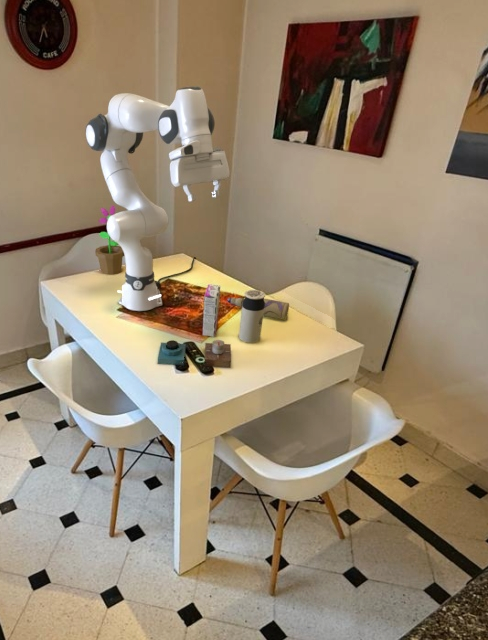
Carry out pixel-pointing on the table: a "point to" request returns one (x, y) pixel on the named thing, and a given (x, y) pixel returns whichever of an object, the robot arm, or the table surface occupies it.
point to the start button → (172, 345)
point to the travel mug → (252, 316)
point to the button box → (171, 354)
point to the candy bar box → (211, 310)
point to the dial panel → (218, 356)
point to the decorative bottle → (267, 307)
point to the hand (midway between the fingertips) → (204, 199)
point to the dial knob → (218, 347)
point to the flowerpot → (109, 250)
